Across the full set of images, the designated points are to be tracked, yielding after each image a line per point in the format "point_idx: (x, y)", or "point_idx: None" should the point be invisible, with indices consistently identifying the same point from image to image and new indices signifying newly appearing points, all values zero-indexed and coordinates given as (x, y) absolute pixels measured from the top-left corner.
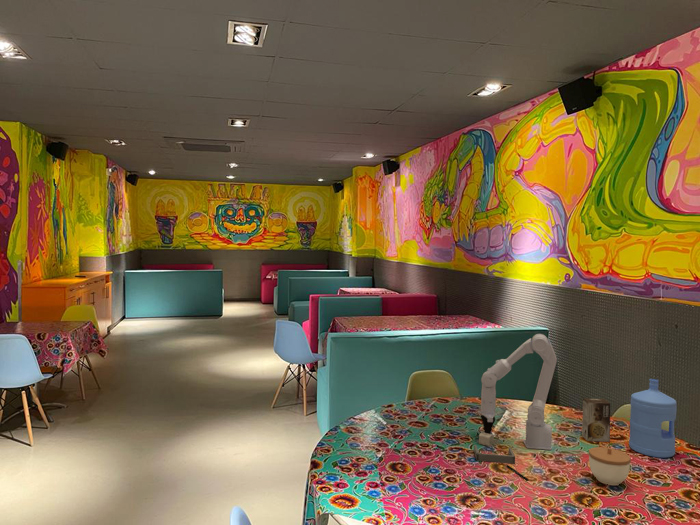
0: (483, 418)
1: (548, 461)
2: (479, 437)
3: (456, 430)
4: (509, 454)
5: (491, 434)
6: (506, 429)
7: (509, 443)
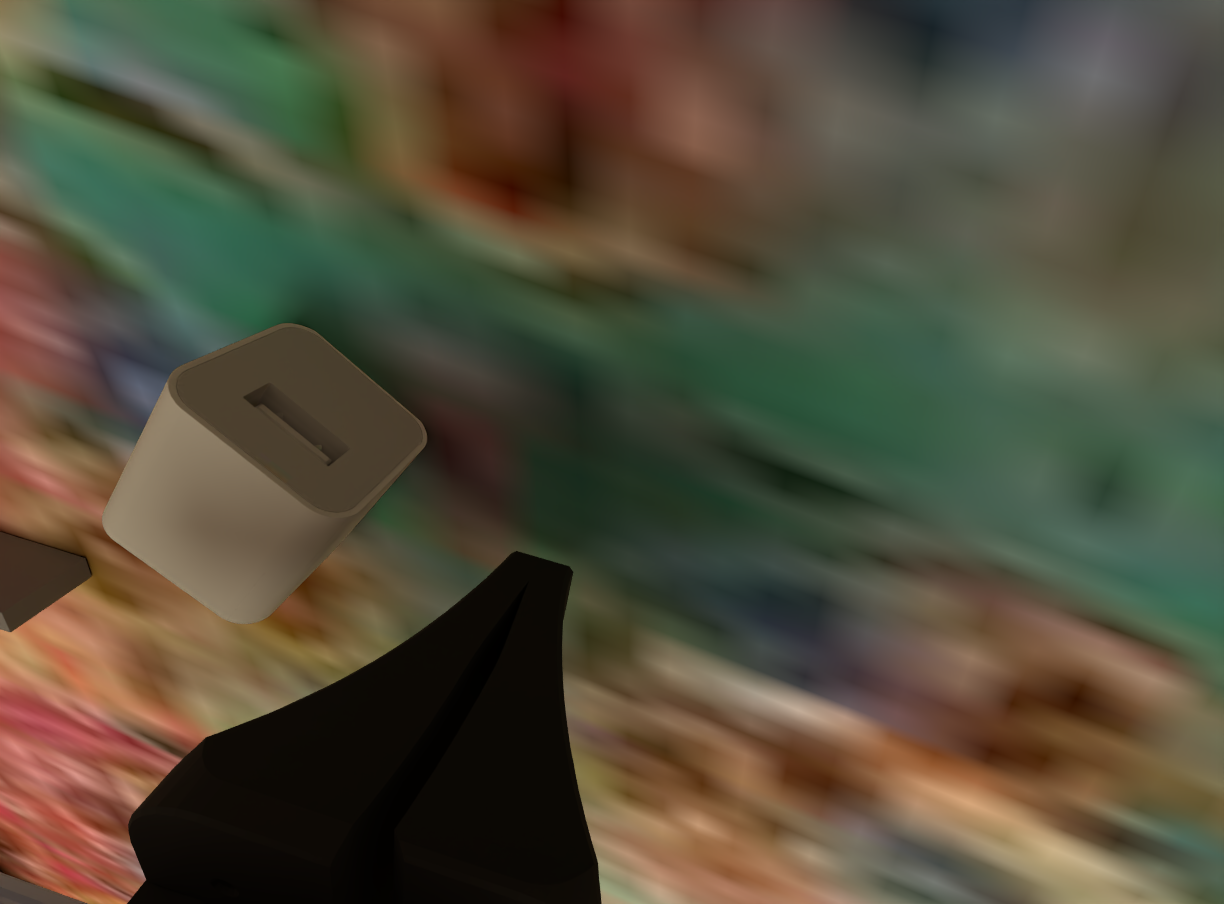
0: (132, 828)
1: (78, 765)
2: (201, 362)
3: (1175, 26)
4: (6, 552)
5: (223, 602)
6: (913, 893)
7: None
